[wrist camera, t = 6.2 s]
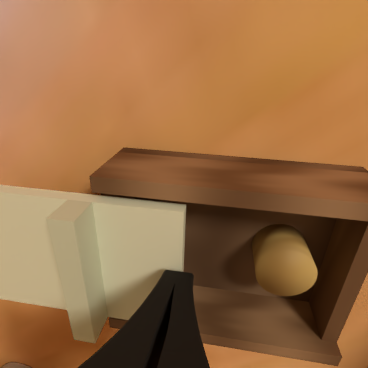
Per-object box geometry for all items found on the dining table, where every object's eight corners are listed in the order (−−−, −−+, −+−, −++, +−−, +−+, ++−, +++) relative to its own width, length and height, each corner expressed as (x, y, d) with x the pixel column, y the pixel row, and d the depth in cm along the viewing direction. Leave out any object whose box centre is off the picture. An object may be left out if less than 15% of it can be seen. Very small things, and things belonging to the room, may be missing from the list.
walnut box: (362, 167, 14) (413, 207, 10) (315, 302, 18) (337, 366, 14) (123, 147, 15) (89, 176, 12) (132, 275, 20) (109, 327, 16)
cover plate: (186, 204, 12) (177, 234, 10) (181, 317, 15) (174, 357, 13) (-56, 178, 14) (-106, 200, 11) (-12, 286, 17) (-46, 317, 15)
